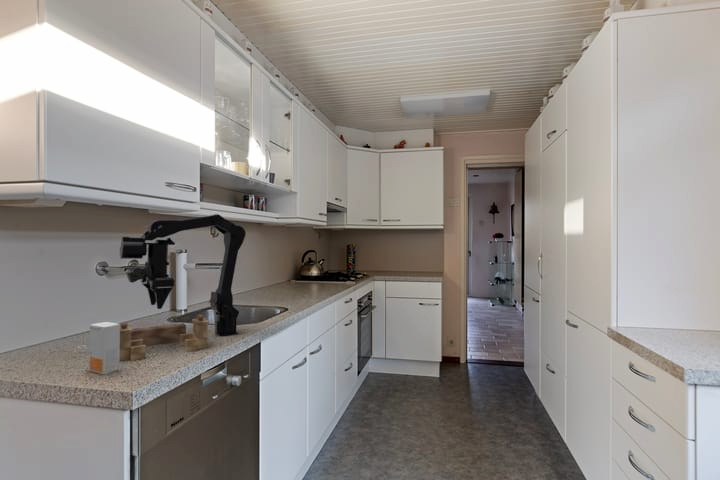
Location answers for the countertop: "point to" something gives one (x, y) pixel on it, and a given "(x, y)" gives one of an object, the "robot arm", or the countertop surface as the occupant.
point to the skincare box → (104, 347)
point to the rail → (159, 334)
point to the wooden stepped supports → (189, 340)
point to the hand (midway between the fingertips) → (156, 306)
